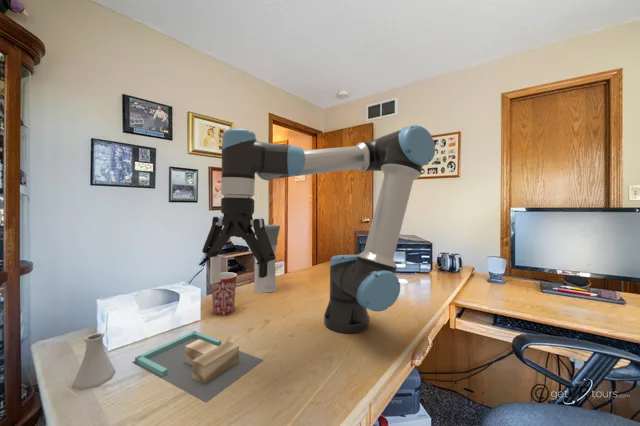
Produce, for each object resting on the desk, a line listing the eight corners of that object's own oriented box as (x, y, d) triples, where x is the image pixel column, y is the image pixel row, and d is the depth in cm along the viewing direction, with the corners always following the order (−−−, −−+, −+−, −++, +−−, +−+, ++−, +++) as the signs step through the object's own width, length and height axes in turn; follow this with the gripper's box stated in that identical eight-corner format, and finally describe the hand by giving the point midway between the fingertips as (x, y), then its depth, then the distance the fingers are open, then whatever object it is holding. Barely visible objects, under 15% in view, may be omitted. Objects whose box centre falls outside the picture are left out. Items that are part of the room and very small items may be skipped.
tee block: (238, 361, 67) (239, 345, 67) (204, 383, 58) (204, 365, 58) (208, 349, 73) (209, 334, 72) (173, 368, 64) (173, 351, 64)
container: (262, 286, 130) (263, 224, 130) (281, 287, 129) (282, 225, 128) (255, 292, 121) (255, 225, 120) (275, 294, 120) (276, 226, 119)
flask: (89, 371, 63) (89, 329, 63) (122, 370, 63) (122, 328, 63) (62, 393, 56) (62, 345, 55) (100, 391, 56) (100, 344, 56)
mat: (263, 361, 68) (263, 355, 68) (206, 404, 53) (206, 396, 53) (193, 335, 81) (193, 329, 81) (131, 363, 66) (131, 357, 66)
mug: (236, 315, 96) (237, 277, 96) (209, 317, 94) (209, 279, 93) (236, 302, 108) (236, 269, 108) (212, 304, 106) (212, 270, 105)
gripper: (291, 198, 62) (289, 290, 62) (212, 197, 72) (210, 276, 73) (272, 196, 55) (269, 300, 55) (187, 196, 66) (186, 282, 66)
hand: (236, 287), depth 64 cm, fingers open, 13 cm apart
